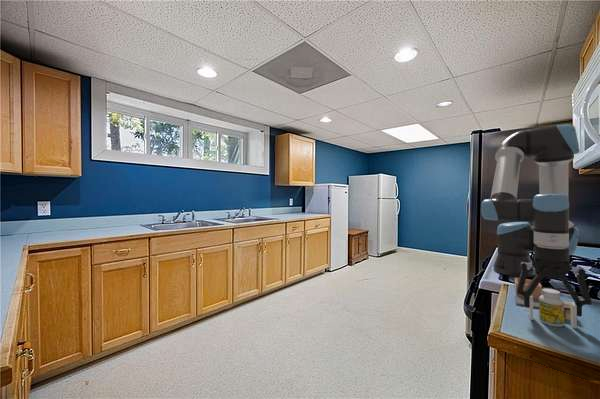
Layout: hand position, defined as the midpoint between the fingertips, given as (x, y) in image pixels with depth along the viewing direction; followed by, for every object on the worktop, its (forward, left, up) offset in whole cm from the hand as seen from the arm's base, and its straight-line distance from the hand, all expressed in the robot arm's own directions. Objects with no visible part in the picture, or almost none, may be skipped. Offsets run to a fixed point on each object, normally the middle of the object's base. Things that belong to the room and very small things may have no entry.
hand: (551, 321), depth 78 cm
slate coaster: (-13, -4, 0) cm, 14 cm away
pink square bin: (-21, -3, 0) cm, 21 cm away
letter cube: (-7, +4, 0) cm, 8 cm away
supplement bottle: (0, 0, 0) cm, 0 cm away
